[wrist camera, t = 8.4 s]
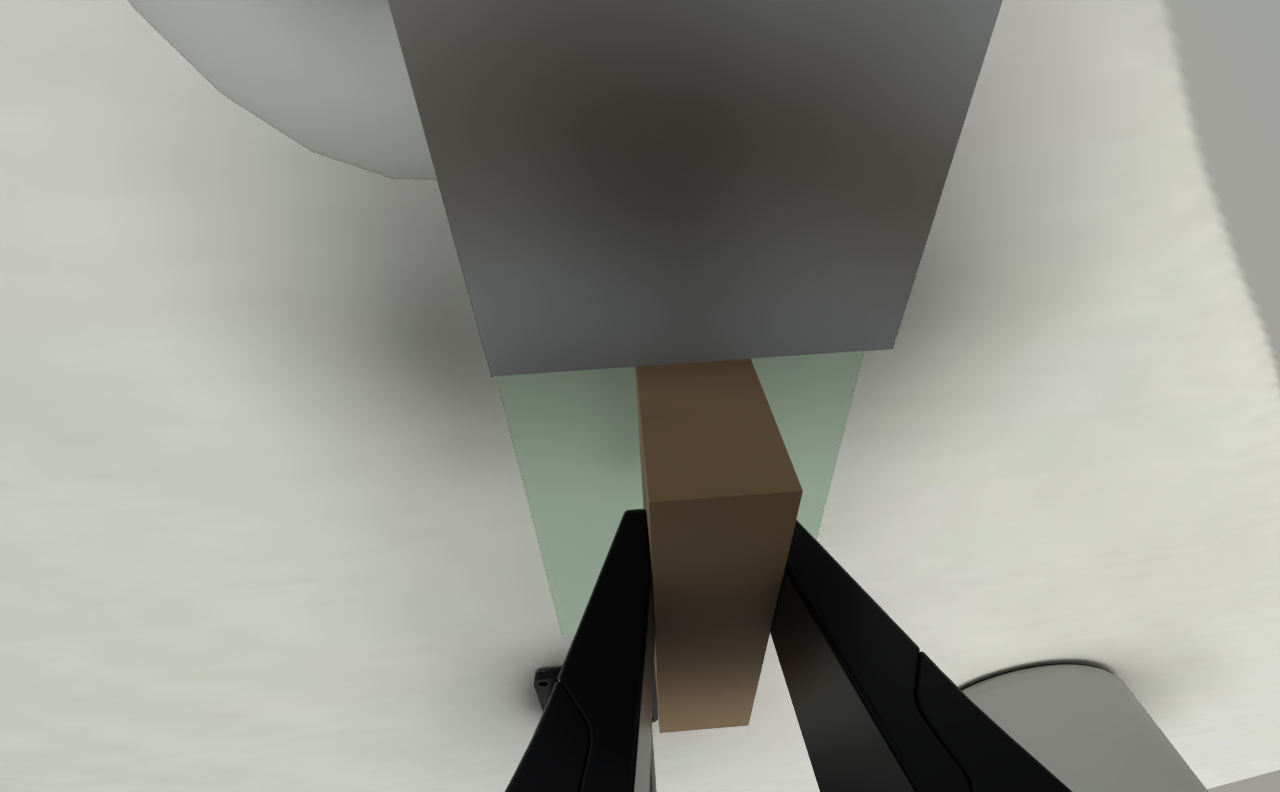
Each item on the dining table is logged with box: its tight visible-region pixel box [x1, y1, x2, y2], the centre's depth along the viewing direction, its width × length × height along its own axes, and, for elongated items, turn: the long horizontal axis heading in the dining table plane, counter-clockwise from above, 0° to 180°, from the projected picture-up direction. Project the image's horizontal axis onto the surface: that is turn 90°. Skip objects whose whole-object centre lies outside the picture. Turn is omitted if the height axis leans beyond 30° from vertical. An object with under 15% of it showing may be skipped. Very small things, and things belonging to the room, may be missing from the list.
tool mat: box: [496, 351, 864, 637], centre depth 19 cm, size 18×11×1 cm, turn 3°
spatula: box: [388, 0, 1002, 733], centre depth 9 cm, size 14×7×4 cm, turn 3°
